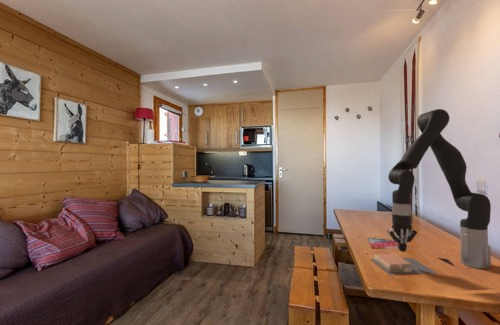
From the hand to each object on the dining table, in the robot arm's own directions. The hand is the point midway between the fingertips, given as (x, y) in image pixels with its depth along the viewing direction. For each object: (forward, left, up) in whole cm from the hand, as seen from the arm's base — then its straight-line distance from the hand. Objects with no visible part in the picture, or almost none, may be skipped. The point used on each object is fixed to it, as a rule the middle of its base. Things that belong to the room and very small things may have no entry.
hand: (402, 251), depth 107 cm
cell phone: (-18, -6, -8) cm, 21 cm away
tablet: (-10, -27, -8) cm, 30 cm away
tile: (0, 0, -5) cm, 5 cm away
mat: (+1, 0, -8) cm, 8 cm away
